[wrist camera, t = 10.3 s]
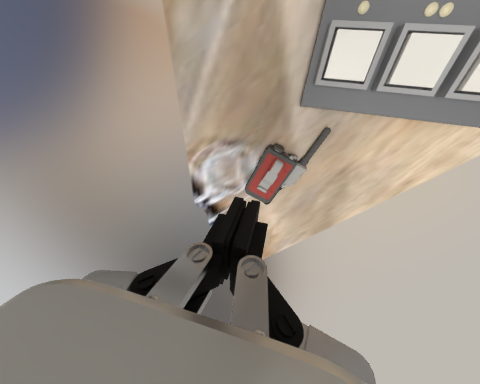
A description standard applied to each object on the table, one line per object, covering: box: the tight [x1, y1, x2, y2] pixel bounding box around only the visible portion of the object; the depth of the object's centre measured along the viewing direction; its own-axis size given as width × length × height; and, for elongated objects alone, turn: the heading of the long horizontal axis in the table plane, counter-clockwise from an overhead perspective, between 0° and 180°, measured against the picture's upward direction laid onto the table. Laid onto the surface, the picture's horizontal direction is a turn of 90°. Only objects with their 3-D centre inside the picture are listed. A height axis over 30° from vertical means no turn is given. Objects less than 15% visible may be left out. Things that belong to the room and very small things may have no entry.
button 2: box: [384, 33, 464, 88], centre depth 22 cm, size 5×5×2 cm
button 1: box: [322, 29, 383, 81], centre depth 23 cm, size 5×5×2 cm
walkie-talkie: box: [245, 128, 331, 204], centre depth 35 cm, size 9×4×20 cm
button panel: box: [300, 0, 480, 128], centre depth 23 cm, size 13×25×4 cm, turn 85°
